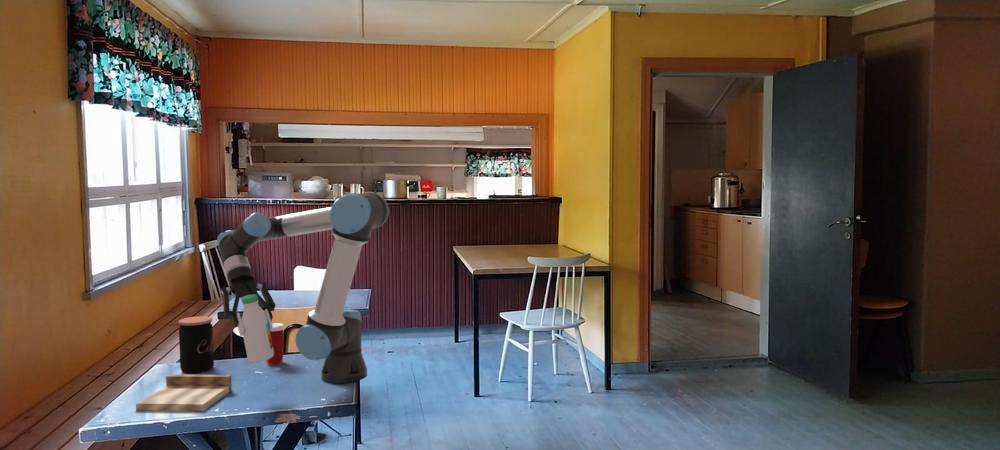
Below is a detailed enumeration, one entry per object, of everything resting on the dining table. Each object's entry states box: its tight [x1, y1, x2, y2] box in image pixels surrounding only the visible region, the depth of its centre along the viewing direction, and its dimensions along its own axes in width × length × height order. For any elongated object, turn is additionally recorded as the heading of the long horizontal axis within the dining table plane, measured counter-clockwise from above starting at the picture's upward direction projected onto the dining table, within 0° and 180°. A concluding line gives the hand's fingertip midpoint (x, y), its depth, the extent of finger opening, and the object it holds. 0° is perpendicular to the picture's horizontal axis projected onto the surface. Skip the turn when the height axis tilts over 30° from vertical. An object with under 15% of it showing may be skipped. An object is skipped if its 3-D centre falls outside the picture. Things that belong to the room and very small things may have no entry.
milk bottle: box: [241, 294, 274, 363], centre depth 195 cm, size 8×8×20 cm
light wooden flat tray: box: [135, 373, 233, 412], centre depth 195 cm, size 20×18×5 cm
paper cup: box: [265, 322, 286, 366], centre depth 233 cm, size 8×8×14 cm
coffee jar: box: [178, 315, 215, 375], centre depth 225 cm, size 11×11×18 cm
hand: (256, 331), depth 194 cm, fingers closed on milk bottle, 8 cm apart
